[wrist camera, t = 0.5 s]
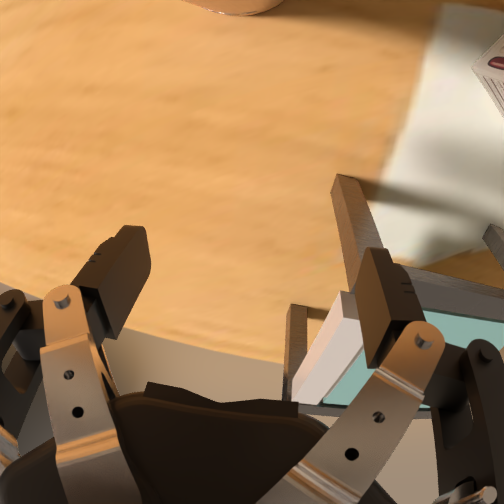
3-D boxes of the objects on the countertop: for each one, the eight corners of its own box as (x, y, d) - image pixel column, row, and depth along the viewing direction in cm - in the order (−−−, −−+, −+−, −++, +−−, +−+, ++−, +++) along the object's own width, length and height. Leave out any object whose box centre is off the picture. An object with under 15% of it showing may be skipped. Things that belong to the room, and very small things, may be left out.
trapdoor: (289, 384, 29) (288, 406, 27) (345, 279, 20) (349, 306, 18) (435, 395, 29) (439, 413, 27) (514, 312, 21) (524, 333, 19)
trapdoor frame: (286, 314, 39) (280, 411, 29) (336, 173, 28) (362, 268, 17) (427, 336, 40) (447, 417, 29) (501, 228, 28) (556, 311, 18)
